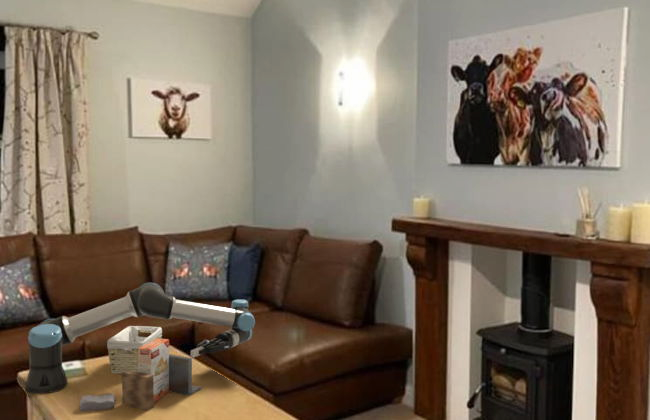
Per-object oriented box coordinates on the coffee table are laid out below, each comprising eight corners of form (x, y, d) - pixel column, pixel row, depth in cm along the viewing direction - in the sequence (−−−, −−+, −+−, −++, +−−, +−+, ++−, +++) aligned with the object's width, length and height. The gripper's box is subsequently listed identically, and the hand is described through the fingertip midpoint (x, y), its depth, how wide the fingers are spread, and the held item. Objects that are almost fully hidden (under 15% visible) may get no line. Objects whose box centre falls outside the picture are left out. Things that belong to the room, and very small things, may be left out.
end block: (122, 404, 233) (122, 372, 232) (128, 401, 235) (128, 369, 234) (147, 410, 227) (147, 377, 226) (153, 407, 230) (153, 375, 229)
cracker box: (152, 405, 232) (151, 349, 230) (137, 403, 233) (136, 347, 232) (170, 391, 245) (170, 338, 244) (156, 390, 247) (155, 337, 245)
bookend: (159, 389, 248) (159, 354, 246) (173, 383, 255) (173, 348, 254) (188, 395, 241) (188, 359, 240) (201, 389, 249) (201, 353, 247)
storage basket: (143, 376, 262) (143, 341, 261) (105, 375, 264) (105, 340, 263) (163, 358, 286) (163, 326, 285) (128, 357, 288) (128, 325, 286)
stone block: (82, 407, 234) (78, 412, 225) (82, 393, 235) (79, 398, 225) (115, 405, 237) (114, 410, 228) (116, 392, 238) (114, 396, 228)
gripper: (214, 329, 279) (179, 342, 258) (239, 333, 273) (205, 347, 252) (214, 346, 279) (179, 360, 258) (238, 351, 274) (205, 366, 252)
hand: (192, 354), depth 255 cm, fingers closed
